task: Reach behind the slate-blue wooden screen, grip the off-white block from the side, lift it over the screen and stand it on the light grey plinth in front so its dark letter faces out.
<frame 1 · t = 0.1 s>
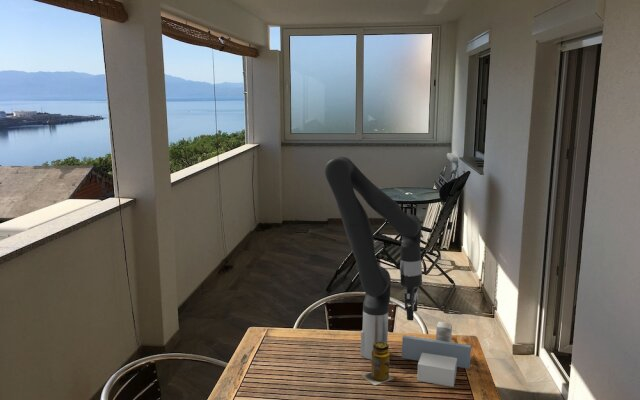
hand: (412, 315, 193), 17 cm above the table, tool pointing down, fingers open, 8 cm apart
plinth: (436, 377, 184), on the table
condiment: (377, 378, 184), on the table
lettered block: (442, 355, 200), on the table
screen: (435, 361, 195), on the table
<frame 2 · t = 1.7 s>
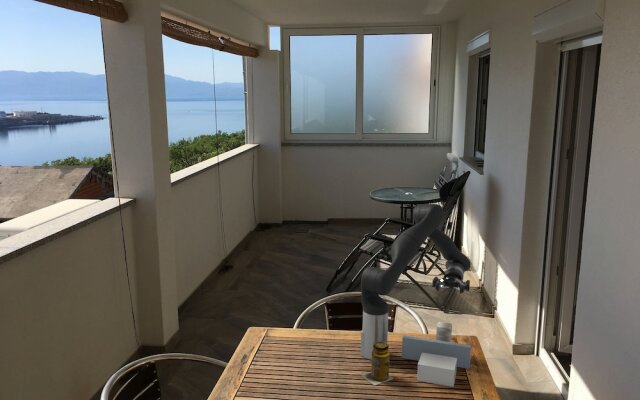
hand: (449, 289, 207), 22 cm above the table, tool horizontal, fingers open, 8 cm apart
nothing on the table moved.
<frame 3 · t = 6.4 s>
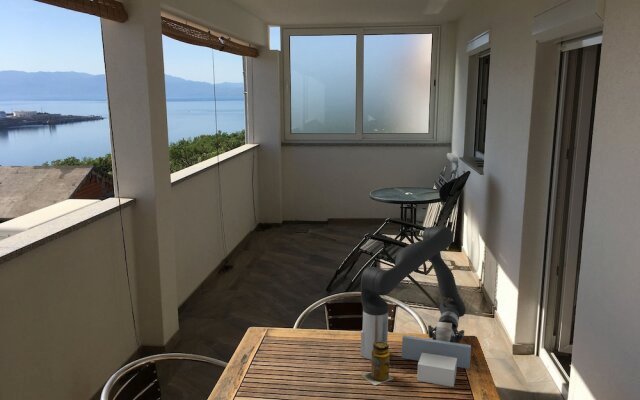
hand: (442, 341, 197), 7 cm above the table, tool horizontal, fingers closed on lettered block, 5 cm apart
lettered block: (442, 355, 200), on the table, touching gripper
everything else where it was.
when the fingers open (14 cm above the table, at t = 10.9 s): lettered block drops 1 cm, resting on plinth.
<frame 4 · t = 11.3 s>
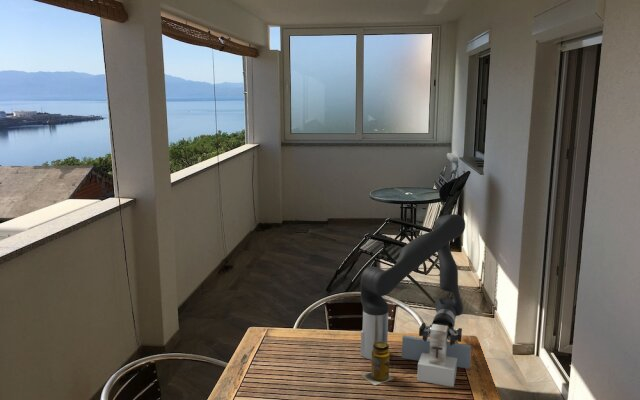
hand: (438, 341, 180), 14 cm above the table, tool horizontal, fingers open, 8 cm apart
lettered block: (437, 361, 183), point 6 cm above the table, touching plinth
everything else where it was.
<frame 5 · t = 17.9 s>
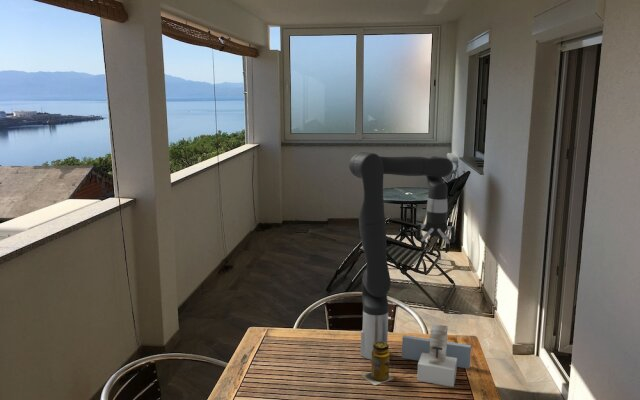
hand: (435, 251, 207), 36 cm above the table, tool pointing down, fingers open, 8 cm apart
nothing on the table moved.
at the end: lettered block inside the target area on the plinth (0.1 cm from its centre), point 6.0 cm above the plinth's base; lettered block tilted 0°; the gripper is holding nothing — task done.
